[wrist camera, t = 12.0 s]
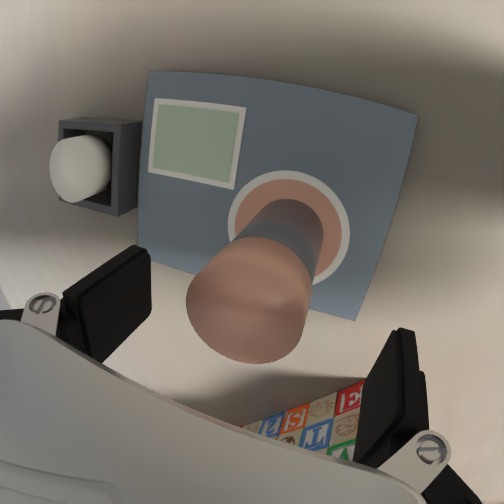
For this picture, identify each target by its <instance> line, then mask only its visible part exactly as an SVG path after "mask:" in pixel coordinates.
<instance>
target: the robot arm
mask: <svg viewBox="0 0 504 504" xmlns="http://www.w3.org/2000/svg"><path fill="white" fill-rule="evenodd" d="M62 293H63V298H62V299H61V300H60V299H59V297H58V296H57V295H55V294H53V293H47V292H44V293H39V294H36V295H34V296H32V297H31V298H30V299H29V300H28V301H27V302H26V304H25V307H24V309H13V310H1V311H0V504H482V502H481V501H480V499H479V498H478V497H477V495H476V494H475V493H474V492H473V491H472V490H471V489H470V488H469V487H468V486H467V485H466V483H465V482H464V481H463V480H462V479H461V478H460V477H459V476H458V475H457V474H456V473H455V472H454V470H453V469H452V468H451V467H450V466H449V465H448V464H447V463H448V462H449V460H450V457H451V448H450V445H449V443H448V441H447V440H446V439H445V437H444V436H442V435H441V434H439V433H438V432H435V431H432V430H429V418H428V403H427V391H426V381H425V375H424V372H423V371H419V362H418V353H417V345H416V337H415V332H414V331H411V330H408V329H404V328H398V330H397V331H396V330H393V331H392V332H391V334H390V336H389V338H388V340H387V342H386V343H385V345H384V347H383V349H382V351H381V353H380V355H379V357H378V358H377V360H376V362H375V364H374V366H373V368H372V369H371V371H370V373H369V375H368V376H367V378H366V380H365V382H364V384H363V388H362V396H361V404H360V413H359V420H358V428H357V435H356V441H355V448H354V454H353V460H352V461H348V460H345V459H341V458H337V457H333V456H329V455H326V454H322V453H318V452H315V451H311V450H308V449H304V448H301V447H298V446H294V445H291V444H288V443H284V442H281V441H278V440H275V439H272V438H268V437H265V436H262V435H259V434H257V433H254V432H251V431H248V430H245V429H242V428H240V427H237V426H234V425H232V424H229V423H226V422H224V421H221V420H219V419H216V418H214V417H211V416H209V415H206V414H204V413H201V412H199V411H197V410H194V409H192V408H190V407H187V406H185V405H183V404H181V403H178V402H176V401H174V400H172V399H170V398H167V397H165V396H163V395H161V394H159V393H157V392H155V391H153V390H151V389H149V388H147V387H145V386H143V385H141V384H139V383H137V382H135V381H133V380H131V379H129V378H127V377H125V376H123V375H121V374H120V373H118V372H116V371H114V370H112V369H110V368H109V367H107V366H105V365H103V364H102V363H103V362H104V361H105V360H106V359H107V358H108V357H109V356H110V355H111V354H112V353H113V352H114V351H115V350H116V349H117V348H118V347H119V346H120V345H121V344H122V343H123V342H124V341H125V340H126V339H127V337H128V336H129V335H130V334H131V333H132V332H133V331H134V330H135V329H136V328H137V327H138V326H139V325H140V324H141V323H142V322H144V321H145V320H146V319H147V318H148V316H149V315H150V313H151V310H152V302H151V256H150V254H149V253H148V251H147V249H145V248H142V247H139V246H137V245H132V246H130V247H129V248H127V249H125V250H124V251H122V252H121V253H119V254H118V255H116V256H115V257H113V258H112V259H110V260H109V261H107V262H106V263H104V264H103V265H101V266H100V267H98V268H97V269H95V270H94V271H92V272H91V273H90V274H88V275H87V276H85V277H84V278H82V279H81V280H79V281H78V282H77V283H75V284H74V285H72V286H71V287H69V288H68V289H67V290H65V291H64V292H62Z"/></svg>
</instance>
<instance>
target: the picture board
mask: <svg viewBox="0 0 504 504" xmlns="http://www.w3.org/2000/svg"><path fill="white" fill-rule="evenodd" d="M418 116H419V115H416V114H413V113H410V112H407V111H403V110H400V109H397V108H394V107H390V106H387V105H384V104H380V103H377V102H373V101H369V100H366V99H362V98H358V97H354V96H350V95H346V94H342V93H337V92H333V91H328V90H324V89H319V88H314V87H309V86H304V85H298V84H292V83H286V82H280V81H274V80H267V79H260V78H252V77H243V76H234V75H224V74H211V73H196V72H172V71H149V78H148V86H147V94H146V102H145V111H144V120H143V131H142V143H141V156H140V173H139V194H138V246H139V247H142V248H145V249H147V251H148V253H149V254H150V256H151V261H154V262H157V263H160V264H163V265H167V266H170V267H173V268H176V269H179V270H182V271H185V272H188V273H191V274H195V275H197V274H198V273H199V272H200V271H201V270H202V269H203V268H204V267H205V266H206V265H207V264H208V263H209V261H210V260H211V259H212V258H213V257H214V256H215V255H216V254H217V253H218V252H219V251H220V250H221V249H222V248H223V247H224V246H226V245H227V244H229V243H230V242H231V241H232V240H233V239H234V238H235V237H236V236H237V235H238V234H239V233H240V232H241V231H242V230H243V229H244V228H245V226H246V225H247V224H248V223H249V222H250V221H251V220H252V219H253V218H254V217H255V216H256V215H257V214H258V213H259V212H260V210H261V209H262V208H264V207H265V206H266V205H267V204H269V203H271V202H273V201H275V200H279V199H293V200H297V201H300V202H302V203H304V204H306V205H308V206H309V207H310V208H311V209H313V211H314V212H315V213H316V214H317V215H318V217H319V219H320V221H321V223H322V227H323V242H322V247H321V251H320V255H319V259H318V264H317V268H316V272H315V276H314V280H313V284H312V296H311V301H310V305H309V309H312V310H316V311H320V312H323V313H327V314H331V315H334V316H338V317H342V318H345V319H349V320H353V321H355V320H356V317H357V315H358V312H359V310H360V307H361V305H362V302H363V300H364V297H365V295H366V292H367V289H368V287H369V284H370V281H371V279H372V276H373V273H374V271H375V268H376V265H377V262H378V259H379V256H380V254H381V251H382V248H383V245H384V242H385V239H386V236H387V233H388V230H389V226H390V223H391V220H392V217H393V214H394V210H395V207H396V204H397V200H398V197H399V193H400V190H401V186H402V183H403V179H404V175H405V171H406V168H407V164H408V160H409V156H410V152H411V147H412V143H413V139H414V134H415V130H416V125H417V121H418Z"/></svg>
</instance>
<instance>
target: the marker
mask: <svg viewBox="0 0 504 504" xmlns="http://www.w3.org/2000/svg"><path fill="white" fill-rule="evenodd" d="M322 242H323V227H322V223H321V221H320V219H319V217H318V215H317V214H316V213H315V212H314V211H313V209H311V208H310V207H309V206H308V205H306V204H304V203H302V202H300V201H297V200H293V199H279V200H275V201H273V202H271V203H269V204H267V205H266V206H265V207H264V208H262V209H261V210H260V212H259V213H258V214H257V215H256V216H255V217H254V218H253V219H252V220H251V221H250V222H249V223H248V224H247V225H246V226H245V228H244V229H243V230H242V231H241V232H240V233H239V234H238V235H237V236H236V237H235V238H234V239H233V240H232V241H231V242H230V243H229V244H227V245H226V246H224V247H223V248H222V249H221V250H220V251H219V252H218V253H217V254H216V255H215V256H214V257H213V258H212V259H211V260H210V261H209V263H208V264H207V265H206V266H205V267H204V268H203V269H202V270H201V271H200V272H199V273H198V274H197V275H196V276H195V278H194V279H193V280H192V282H191V284H190V286H189V288H188V291H187V296H186V308H187V314H188V317H189V320H190V322H191V324H192V326H193V328H194V330H195V331H196V333H197V334H198V335H199V337H200V338H201V339H202V340H203V341H204V342H205V343H206V344H207V345H208V346H210V347H211V348H212V349H213V350H215V351H216V352H218V353H220V354H221V355H223V356H225V357H227V358H230V359H233V360H235V361H239V362H243V363H250V364H263V363H269V362H273V361H276V360H279V359H281V358H283V357H285V356H286V355H288V354H289V353H290V352H291V351H292V350H293V349H294V348H295V347H296V345H297V344H298V342H299V340H300V338H301V335H302V332H303V328H304V324H305V320H306V316H307V313H308V309H309V305H310V301H311V296H312V284H313V280H314V276H315V272H316V268H317V264H318V259H319V255H320V251H321V247H322Z"/></svg>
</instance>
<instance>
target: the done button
mask: <svg viewBox="0 0 504 504" xmlns="http://www.w3.org/2000/svg"><path fill="white" fill-rule="evenodd" d="M49 172H50V178H51V181H52V184H53V187H54V189H55V190H56V192H57V193H58V195H59V196H60V197H61V198H62V199H64V200H65V201H67V202H71V203H75V202H78V201H81V200H83V199H85V198H88V197H90V196H93V195H95V194H98V193H100V192H102V191H103V190H105V189H106V187H107V186H108V185H109V183H110V181H111V178H112V155H111V152H110V150H109V148H108V146H107V144H106V143H105V141H104V140H103V139H101V138H100V137H99V136H97V135H93V134H88V135H82V136H77V137H72V138H67V139H63V140H61V141H59V142H58V143H57V144H56V145H55V147H54V148H53V150H52V153H51V156H50V162H49Z"/></svg>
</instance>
